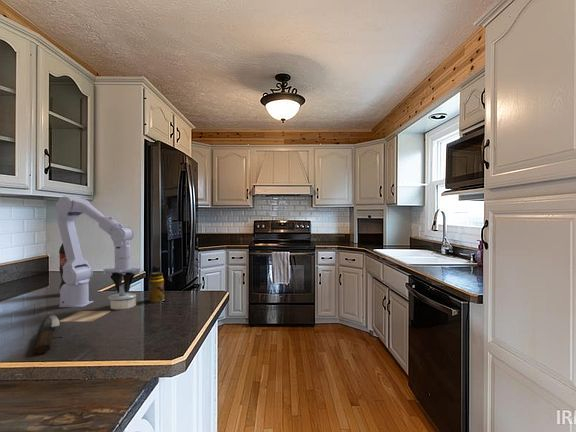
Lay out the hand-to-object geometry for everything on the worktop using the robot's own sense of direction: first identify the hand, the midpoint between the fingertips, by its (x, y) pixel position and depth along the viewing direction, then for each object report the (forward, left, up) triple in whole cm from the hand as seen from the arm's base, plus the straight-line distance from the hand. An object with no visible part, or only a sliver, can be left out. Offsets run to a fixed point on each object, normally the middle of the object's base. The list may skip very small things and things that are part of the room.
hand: (123, 291), depth 132 cm
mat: (-7, -13, -6) cm, 16 cm away
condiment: (+9, +8, -6) cm, 14 cm away
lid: (0, -1, -2) cm, 2 cm away
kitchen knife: (-8, -29, -6) cm, 31 cm away
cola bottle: (-36, +22, -6) cm, 43 cm away
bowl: (0, 0, -6) cm, 6 cm away
